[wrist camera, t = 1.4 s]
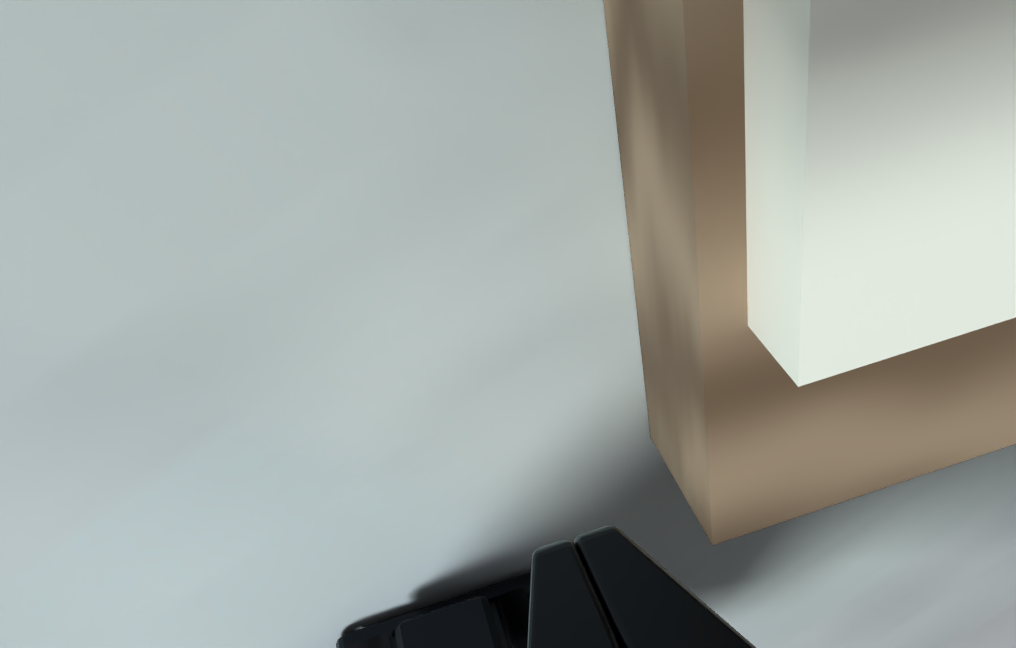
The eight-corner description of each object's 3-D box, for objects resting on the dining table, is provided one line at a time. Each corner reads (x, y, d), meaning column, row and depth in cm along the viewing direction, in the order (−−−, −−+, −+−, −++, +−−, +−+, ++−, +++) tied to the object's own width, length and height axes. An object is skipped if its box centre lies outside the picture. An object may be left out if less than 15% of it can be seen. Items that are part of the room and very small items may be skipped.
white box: (1015, 242, 19) (1089, 293, 17) (748, 325, 18) (798, 386, 16) (1120, -269, 13) (1242, -264, 12) (740, -175, 13) (815, -154, 11)
